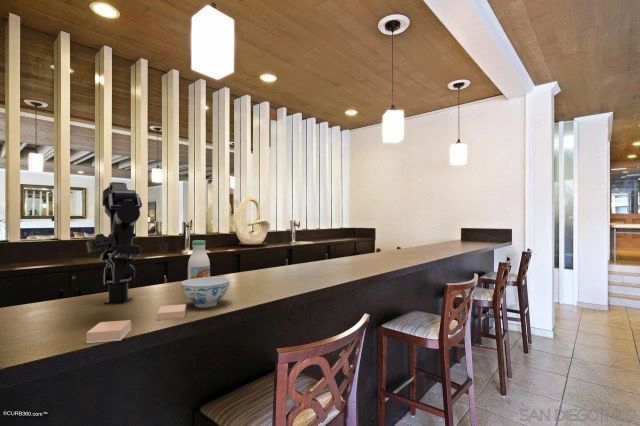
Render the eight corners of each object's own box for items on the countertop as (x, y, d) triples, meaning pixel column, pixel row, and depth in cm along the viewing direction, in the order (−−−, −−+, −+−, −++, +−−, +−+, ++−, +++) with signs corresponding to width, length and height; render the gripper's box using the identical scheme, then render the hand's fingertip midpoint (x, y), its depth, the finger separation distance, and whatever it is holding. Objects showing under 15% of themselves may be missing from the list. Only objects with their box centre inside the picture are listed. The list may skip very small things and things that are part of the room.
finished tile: (161, 314, 102) (161, 306, 102) (186, 311, 104) (186, 304, 104) (157, 321, 95) (157, 313, 95) (184, 319, 97) (184, 310, 97)
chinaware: (239, 302, 114) (239, 279, 114) (203, 313, 101) (203, 287, 101) (208, 297, 121) (208, 275, 122) (171, 307, 109) (171, 282, 109)
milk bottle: (183, 296, 123) (183, 241, 123) (196, 292, 130) (195, 239, 130) (202, 297, 121) (202, 241, 121) (214, 293, 128) (214, 239, 129)
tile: (100, 322, 85) (86, 332, 78) (131, 320, 87) (120, 330, 79) (100, 331, 85) (86, 343, 78) (131, 329, 87) (120, 340, 79)
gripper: (84, 232, 102) (75, 285, 98) (99, 219, 89) (90, 280, 85) (125, 237, 110) (118, 286, 105) (144, 226, 97) (138, 281, 93)
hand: (115, 283), depth 97 cm, fingers closed
